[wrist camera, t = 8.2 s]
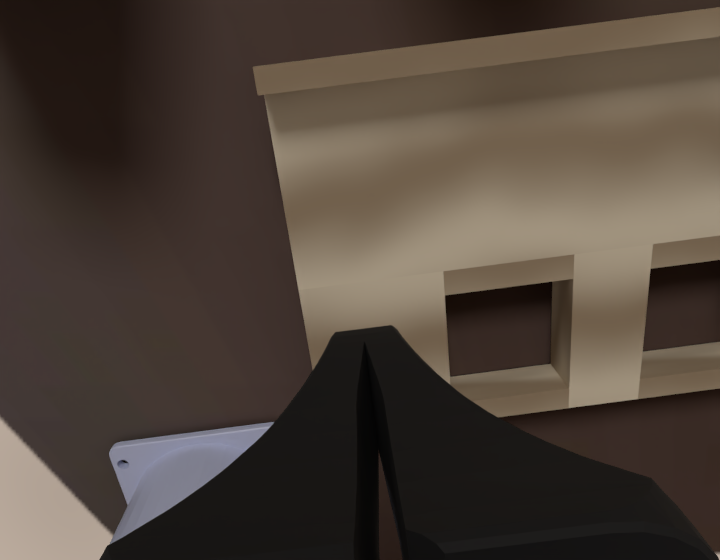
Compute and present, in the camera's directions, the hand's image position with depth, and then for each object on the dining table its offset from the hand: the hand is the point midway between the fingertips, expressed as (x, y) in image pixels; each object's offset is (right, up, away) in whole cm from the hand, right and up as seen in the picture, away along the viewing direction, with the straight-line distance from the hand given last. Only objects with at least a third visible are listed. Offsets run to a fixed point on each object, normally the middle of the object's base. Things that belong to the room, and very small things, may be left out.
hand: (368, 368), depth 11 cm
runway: (+9, +4, +10) cm, 14 cm away
